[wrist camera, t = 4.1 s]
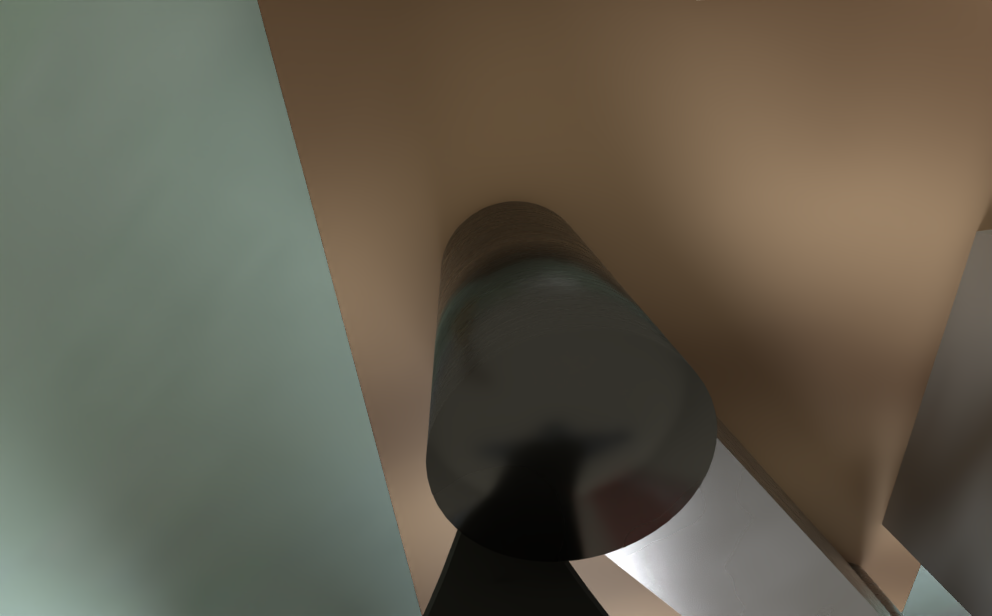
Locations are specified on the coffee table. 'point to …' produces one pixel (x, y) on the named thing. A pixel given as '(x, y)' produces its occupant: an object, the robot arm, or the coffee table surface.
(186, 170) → the coffee table surface
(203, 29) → the coffee table surface
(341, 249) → the press base
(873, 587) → the lever
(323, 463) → the coffee table surface
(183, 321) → the coffee table surface
